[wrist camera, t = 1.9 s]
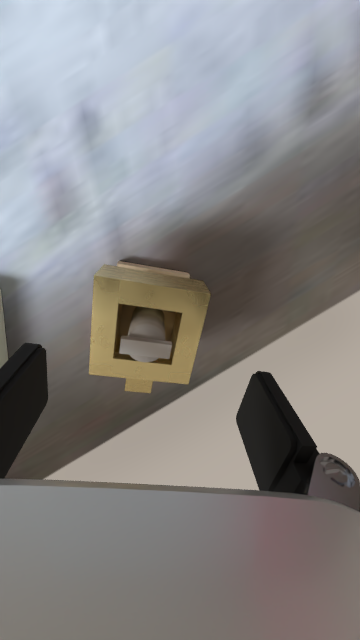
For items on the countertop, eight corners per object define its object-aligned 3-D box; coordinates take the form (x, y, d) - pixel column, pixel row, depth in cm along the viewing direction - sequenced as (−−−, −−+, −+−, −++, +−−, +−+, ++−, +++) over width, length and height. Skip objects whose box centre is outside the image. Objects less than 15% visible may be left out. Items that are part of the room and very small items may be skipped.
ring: (202, 280, 18) (211, 294, 15) (179, 380, 22) (182, 405, 19) (104, 264, 17) (93, 275, 14) (96, 371, 20) (87, 397, 18)
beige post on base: (176, 332, 24) (185, 393, 16) (113, 324, 23) (91, 384, 15) (188, 272, 22) (206, 310, 14) (119, 261, 21) (96, 293, 13)
